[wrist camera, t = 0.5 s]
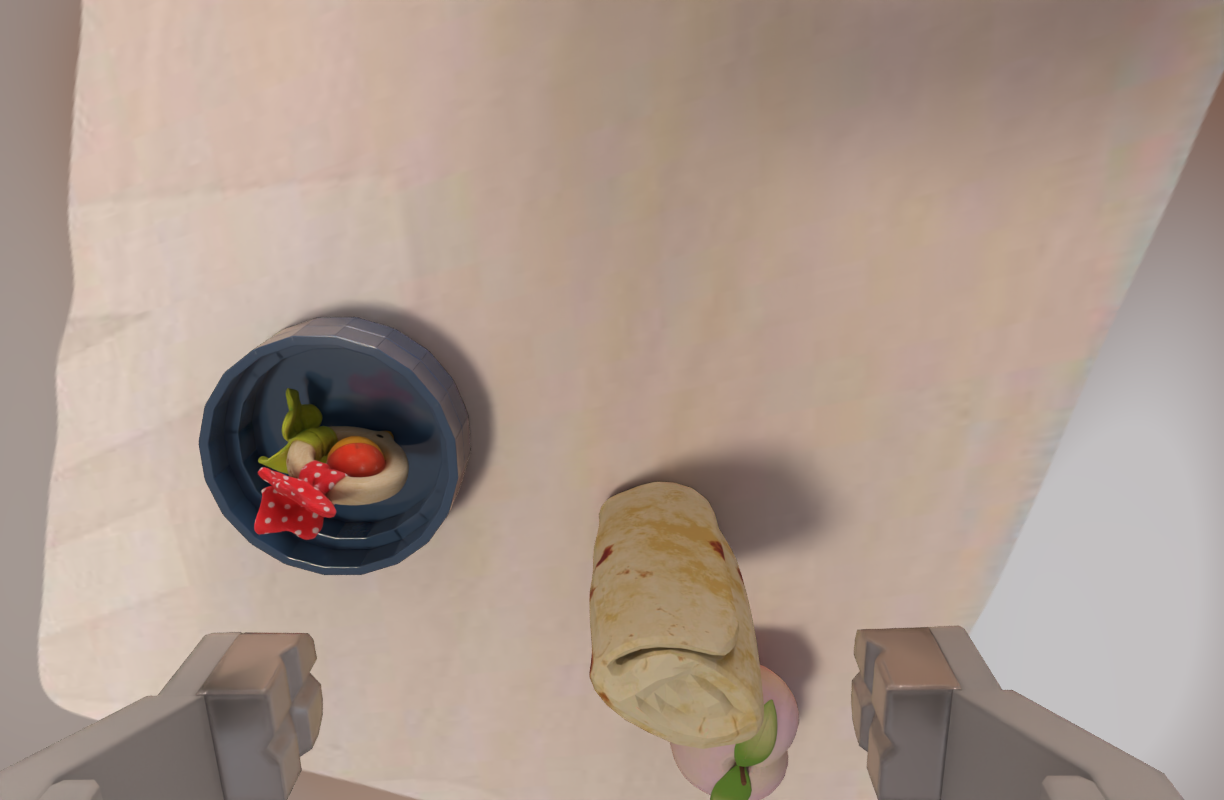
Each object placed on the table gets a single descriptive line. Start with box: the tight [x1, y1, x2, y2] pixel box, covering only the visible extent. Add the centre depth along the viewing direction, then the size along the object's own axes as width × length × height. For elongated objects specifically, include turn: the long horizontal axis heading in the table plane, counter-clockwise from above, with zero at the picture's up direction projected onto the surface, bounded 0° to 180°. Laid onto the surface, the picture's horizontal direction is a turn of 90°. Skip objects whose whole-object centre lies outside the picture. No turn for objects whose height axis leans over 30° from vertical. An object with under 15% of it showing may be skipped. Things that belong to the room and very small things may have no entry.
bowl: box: [199, 317, 471, 575], centre depth 59 cm, size 16×16×5 cm
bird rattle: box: [254, 388, 409, 540], centre depth 56 cm, size 6×11×9 cm
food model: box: [590, 482, 764, 749], centre depth 53 cm, size 10×7×20 cm
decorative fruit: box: [670, 665, 799, 800], centre depth 62 cm, size 9×8×10 cm
